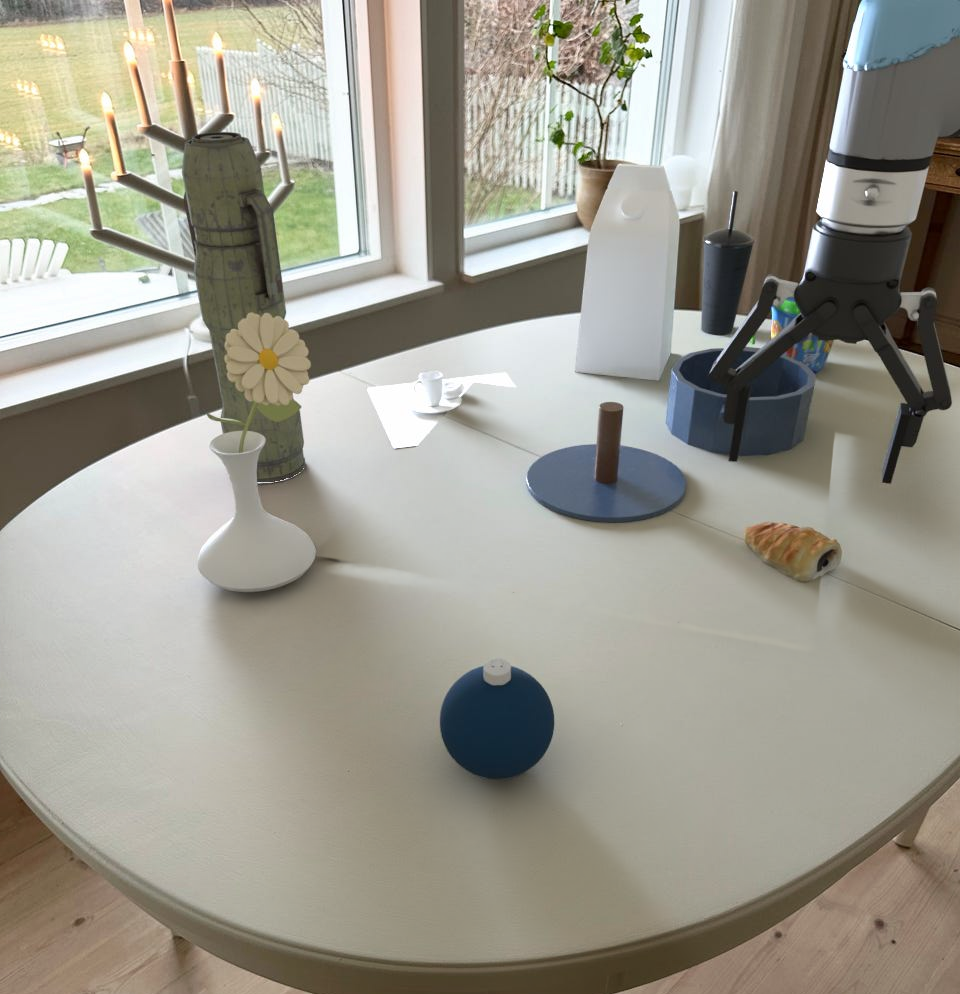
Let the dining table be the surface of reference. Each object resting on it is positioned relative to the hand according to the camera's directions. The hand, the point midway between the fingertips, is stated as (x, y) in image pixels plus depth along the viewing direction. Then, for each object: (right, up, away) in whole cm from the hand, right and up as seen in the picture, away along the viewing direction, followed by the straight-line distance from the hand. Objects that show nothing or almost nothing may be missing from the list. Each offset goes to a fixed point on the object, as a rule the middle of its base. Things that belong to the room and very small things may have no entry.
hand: (808, 466), depth 88 cm
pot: (+1, +10, +31) cm, 33 cm away
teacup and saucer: (-34, +14, +38) cm, 53 cm away
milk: (-10, +24, +51) cm, 57 cm away
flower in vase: (-52, -9, +6) cm, 53 cm away
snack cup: (+15, +23, +49) cm, 56 cm away
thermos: (-56, +4, +24) cm, 61 cm away
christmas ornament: (-29, -26, -16) cm, 42 cm away
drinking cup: (+7, +32, +61) cm, 70 cm away
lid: (-16, +2, +19) cm, 25 cm away
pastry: (0, -9, +6) cm, 11 cm away
